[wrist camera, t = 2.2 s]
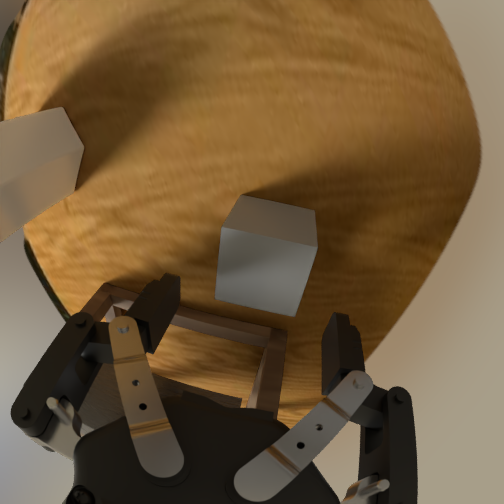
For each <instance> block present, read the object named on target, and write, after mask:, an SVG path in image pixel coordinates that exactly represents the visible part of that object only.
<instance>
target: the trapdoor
mask: <svg viewBox="0 0 504 504" xmlns="http://www.w3.org/2000/svg"><path fill="white" fill-rule="evenodd" d="M32 372H33V371H32ZM30 375H31V374H30ZM152 376H153V379H154V382H155V385H156V388H157V391H158V394H159V397H160V398H163V397H167V396H182V393H183V390H184V391H188V392H191V393H194V394H198V395H201V396H205V397H207V398H209V399H211V400H213V401H215V402H217V403H219V404H221V405H223V406H225V407H227V408H240V406H241V402H242V398H237V397H233V396H228V395H224V394H220V393H216V392H212V391H209V390H205V389H201V388H198V387H194V386H191V385H187V384H184V383H181V382H177V381H174V380H171V379H168V378H165V377H162V376H159V375H156V374H153V373H152ZM29 377H30V376H29ZM29 377H28V378H29ZM27 380H28V379H27ZM27 380H26V381H27ZM25 383H26V382H25ZM25 383H24V385H25ZM78 414H79V415H80V417H81V420H82V427H81V431H80V433H82V434H84V435H85V434H87V433H89V432H91V431H93V430H96V429H98V428H100V427H102V426H105V425H107V424H109V423H111V422H113V421H115V420H117V419H119V418H121V417H124V416H126V415H125V411H124V407H123V403H122V400H121V396H120V391H119V387H118V383H117V378H116V374H115V369H114V364H107V363H103V365H102V367H101V368H100V370H99V372H98V374H97V376H96V378H95V380H94V382H93V384H92V385H91V387H90V389H89V391H88V393H87V395H86V397H85V399H84V401H83V403H82V405H81V407H80V409H79V411H78Z"/></svg>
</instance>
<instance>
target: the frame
mask: <svg viewBox="0 0 504 504" xmlns="http://www.w3.org/2000/svg"><path fill="white" fill-rule="evenodd" d="M138 296H139V294H138V293H135V292H131V291H128V290H125V289H122V288H119V287H116V286H113V285H110V284H107V283H103V285H102V286H101V287H100V288H99V289H98V290H97V292H96V293H95V294H94V295H93V296H92V298H91V299H90V300H89V301H88V302H87V304H86V305H85V306H84V307H83V308H82V310H81V311H80V312H86V313H89V314H91V315H92V317H93V319H94V321H97V322H100V321H101V320H102V319H103V317H104V316H105V318H106V321H107V322H111V321H112V320H113V319H114V318H116V317H119V316H122V313H121V309H120V308H122V309H125V310H128V309H129V308H130V307H131V305H132V304H133V303H134V301H135V300H136V298H137V297H138ZM170 324H172V325H176V326H179V327H183V328H186V329H190V330H193V331H197V332H201V333H205V334H208V335H212V336H216V337H220V338H224V339H228V340H232V341H237V342H241V343H245V344H250V345H254V346H259V347H264V348H265V350H264V353H263V356H262V359H261V362H260V366H259V369H258V372H257V375H256V378H255V381H254V384H253V387H252V391H251V394H250V397H249V400H248V403H247V406H246V408H255V409H260V410H265V411H271V412H274V416H273V418H274V419H277V415H278V408H279V400H280V392H281V385H282V376H283V368H284V359H285V350H286V341H287V332H288V331H285V330H280V329H275V328H270V327H265V326H261V325H256V324H252V323H247V322H243V321H238V320H234V319H230V318H226V317H222V316H218V315H214V314H210V313H206V312H202V311H198V310H194V309H190V308H187V307H183V306H179V307H178V310H177V312H176V313H175V315H174V317H173V319H172V321H171V323H170ZM81 436H84V434H82V433H81Z"/></svg>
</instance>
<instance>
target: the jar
mask: <svg viewBox="0 0 504 504" xmlns="http://www.w3.org/2000/svg"><path fill="white" fill-rule="evenodd" d="M83 151H84V145H83V144H82V142H81V140H80V138H79V136H78V135H77V133H76V131H75V129H74V127H73V126H72V124H71V122H70V120H69V118H68V116H67V114H66V112H65V110H64V108H63V107H57V108H53V109H48V110H44V111H40V112H36V113H32V114H29V115H24V116H20V117H15V118H14V119H8V120H5V121H2V122H0V243H1V242H2V241H4V240H5V239H6V238H7V237H9V236H10V235H11V234H13V233H14V232H15V231H17V230H18V229H20V228H21V227H22V226H24V225H25V224H27V223H28V222H29V221H31V220H32V219H34V218H35V217H37V216H38V215H40V214H41V213H43V212H44V211H46V210H47V209H49V208H50V207H52V206H53V205H55V204H56V203H58V202H60V201H61V200H63V199H65V198H66V197H68V196H69V195H71V194H73V193H74V190H75V185H76V180H77V176H78V171H79V167H80V163H81V159H82V155H83Z"/></svg>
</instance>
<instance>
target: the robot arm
mask: <svg viewBox="0 0 504 504" xmlns="http://www.w3.org/2000/svg"><path fill="white" fill-rule="evenodd" d="M179 304H180V276H177V275H173V274H169V273H165V274H164V276H163V277H162V278H161V280H160V281H158V280H153V281H152V282H150V283H148V284H147V285H146V286H145V288H144V289H143V290H142V292H141V293H140V294H139V296H138V297H137V298H136V300H135V301H134V303H133V304H132V305H131V307H130V308H129V309H128V311H127V312H126V314H125V315H124V316H119V317H116V318H114V319H113V320H112V321H111V322H97V321H94V319H93V317H92V315H91V314H89V313H86V312H78V313H76V314H74V315H72V316H71V317H70V318H69V320H68V321H67V322H66V324H65V325H64V327H63V328H62V329H61V331H60V332H59V333H58V335H57V336H56V338H55V339H54V341H53V342H52V343H51V345H50V346H49V348H48V349H47V351H46V352H45V354H44V355H43V356H42V358H41V360H40V361H39V362H38V364H37V366H36V367H35V369H34V370H33V372H32V373H31V375H30V377H29V378H28V380H27V381H26V383H25V385H24V386H23V388H22V390H21V391H20V393H19V395H18V397H17V398H16V400H15V402H14V403H13V405H12V408H11V417H12V420H13V422H14V423H15V424H16V425H17V426H18V427H19V428H20V429H21V430H22V431H23V432H24V433H25V434H26V435H27V436H28V437H30V438H31V439H32V440H33V441H34V442H36V443H37V444H39V445H41V446H42V447H43V448H45V449H46V450H48V451H51V452H55V451H56V452H58V453H60V454H61V455H63V456H65V457H66V458H68V459H70V460H72V461H73V462H74V483H73V487H72V489H71V491H70V493H69V495H68V496H67V497H66V499H65V500H64V502H63V503H62V504H417V495H418V491H417V489H418V477H417V450H416V436H415V426H414V416H413V407H412V400H411V396H410V394H409V393H408V392H407V390H405V389H404V388H402V387H398V386H397V387H392V388H391V389H390V390H389V391H387V390H385V389H382V388H380V387H377V386H375V385H374V384H373V381H372V379H371V378H370V376H369V375H368V374H366V373H365V365H364V358H363V351H362V344H361V337H360V333H359V332H358V330H357V328H356V327H355V326H352V325H350V322H349V316H348V315H346V314H341V313H336V312H334V313H333V314H332V316H331V319H330V321H329V323H328V325H327V327H326V329H325V331H324V334H323V337H322V395H327V397H326V398H324V399H322V400H321V401H320V402H319V403H318V404H317V405H316V406H315V407H314V408H313V409H312V410H311V411H310V412H309V413H308V414H307V415H306V416H305V417H304V418H303V419H301V420H300V421H299V422H298V423H297V424H296V425H295V426H294V427H293V428H291V429H289V428H288V427H287V426H286V425H285V424H283V423H282V422H280V421H278V420H277V419H274V418H273V416H274V412H271V411H265V410H260V409H255V408H227V407H225V406H223V405H221V404H219V403H217V402H215V401H213V400H211V399H209V398H207V397H205V396H201V395H198V394H194V393H191V392H188V391H184V390H183V393H182V396H167V397H163V398H160V397H159V394H158V391H157V388H156V385H155V382H154V379H153V376H152V373H151V370H150V366H149V363H148V360H147V357H146V355H145V354H146V352H148V353H151V354H154V352H155V350H156V349H157V347H158V345H159V343H160V341H161V339H162V337H163V335H164V334H165V332H166V330H167V328H168V326H169V324H170V323H171V321H172V319H173V317H174V315H175V313H176V312H177V310H178V307H179ZM103 363H107V364H114V369H115V374H116V378H117V383H118V387H119V391H120V396H121V400H122V403H123V407H124V411H125V415H126V416H124V417H121V418H119V419H117V420H115V421H113V422H111V423H109V424H107V425H105V426H102V427H100V428H98V429H96V430H93V431H91V432H89V433H87V434H85V435H84V436H82V437H81V433H80V431H81V427H82V420H81V417H80V415H79V414H78V411H79V409H80V407H81V405H82V403H83V401H84V399H85V397H86V395H87V393H88V391H89V389H90V387H91V385H92V384H93V382H94V380H95V378H96V376H97V374H98V372H99V370H100V368H101V367H102V365H103ZM348 421H351V422H354V423H356V424H359V425H361V432H360V433H361V434H360V457H359V474H358V481H357V482H355V483H353V484H352V485H351V486H350V487H349V488H348V490H347V493H346V496H345V498H344V500H343V501H342V502H340V501H339V499H338V497H337V495H336V494H335V492H334V491H333V490H332V488H331V487H330V485H329V484H328V483H327V482H326V480H325V478H324V477H323V476H322V474H321V473H320V471H319V470H318V469H317V467H316V466H315V464H314V463H313V461H312V460H313V459H314V458H315V457H316V456H317V455H318V454H319V453H320V452H321V451H322V450H323V449H324V448H325V447H326V446H327V445H328V444H329V443H330V441H331V440H332V439H333V438H334V437H335V436H336V435H337V434H338V433H339V431H340V430H341V429H342V428H343V427H344V426H345V424H346V423H347V422H348Z"/></svg>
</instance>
